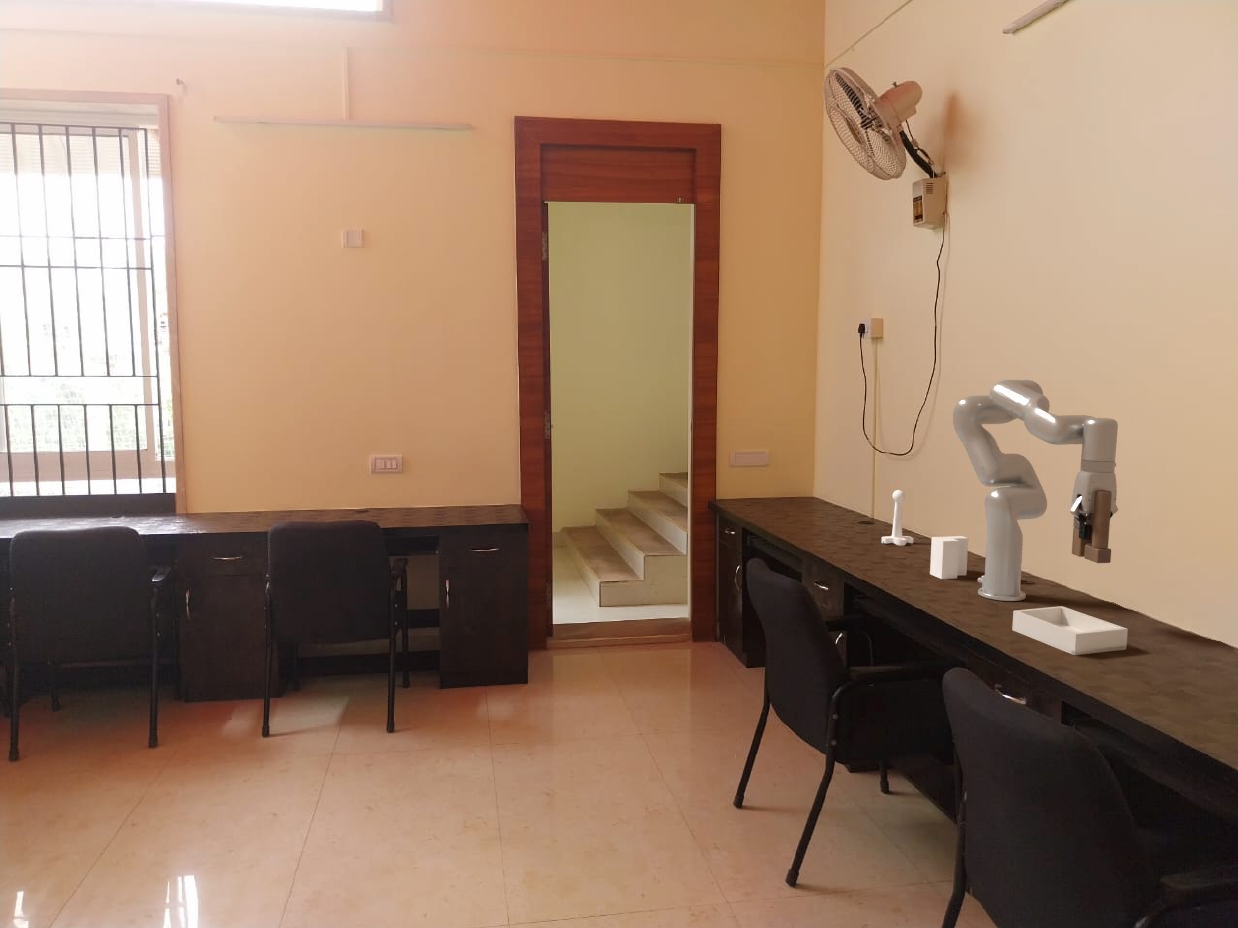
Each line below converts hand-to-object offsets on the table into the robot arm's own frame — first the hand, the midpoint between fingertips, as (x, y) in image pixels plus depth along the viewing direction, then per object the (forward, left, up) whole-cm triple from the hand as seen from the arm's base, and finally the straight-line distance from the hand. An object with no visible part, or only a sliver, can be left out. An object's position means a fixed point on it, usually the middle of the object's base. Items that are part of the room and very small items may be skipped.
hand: (1092, 537), depth 223 cm
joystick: (-102, +14, -23) cm, 105 cm away
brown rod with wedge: (0, 0, -6) cm, 6 cm away
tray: (+8, -14, -23) cm, 28 cm away
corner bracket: (-57, +1, -23) cm, 61 cm away
